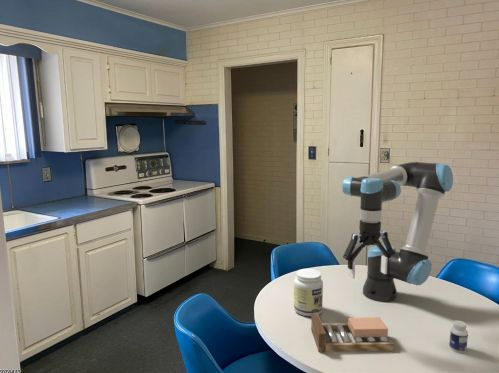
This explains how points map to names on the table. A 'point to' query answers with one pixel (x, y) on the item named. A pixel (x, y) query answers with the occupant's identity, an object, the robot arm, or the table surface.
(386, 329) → the slab
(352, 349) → the frame
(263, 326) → the table surface
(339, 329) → the roller bed
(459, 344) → the pill bottle
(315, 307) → the supplement tub
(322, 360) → the table surface
